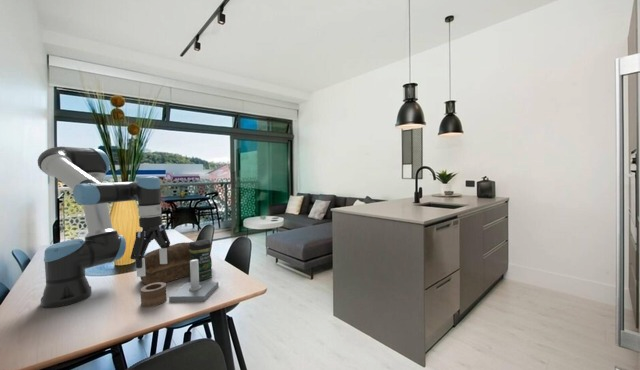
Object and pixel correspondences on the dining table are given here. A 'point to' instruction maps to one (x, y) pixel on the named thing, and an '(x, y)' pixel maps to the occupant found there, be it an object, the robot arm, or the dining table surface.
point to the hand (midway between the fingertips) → (153, 269)
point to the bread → (168, 264)
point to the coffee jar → (202, 257)
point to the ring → (153, 294)
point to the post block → (194, 287)
